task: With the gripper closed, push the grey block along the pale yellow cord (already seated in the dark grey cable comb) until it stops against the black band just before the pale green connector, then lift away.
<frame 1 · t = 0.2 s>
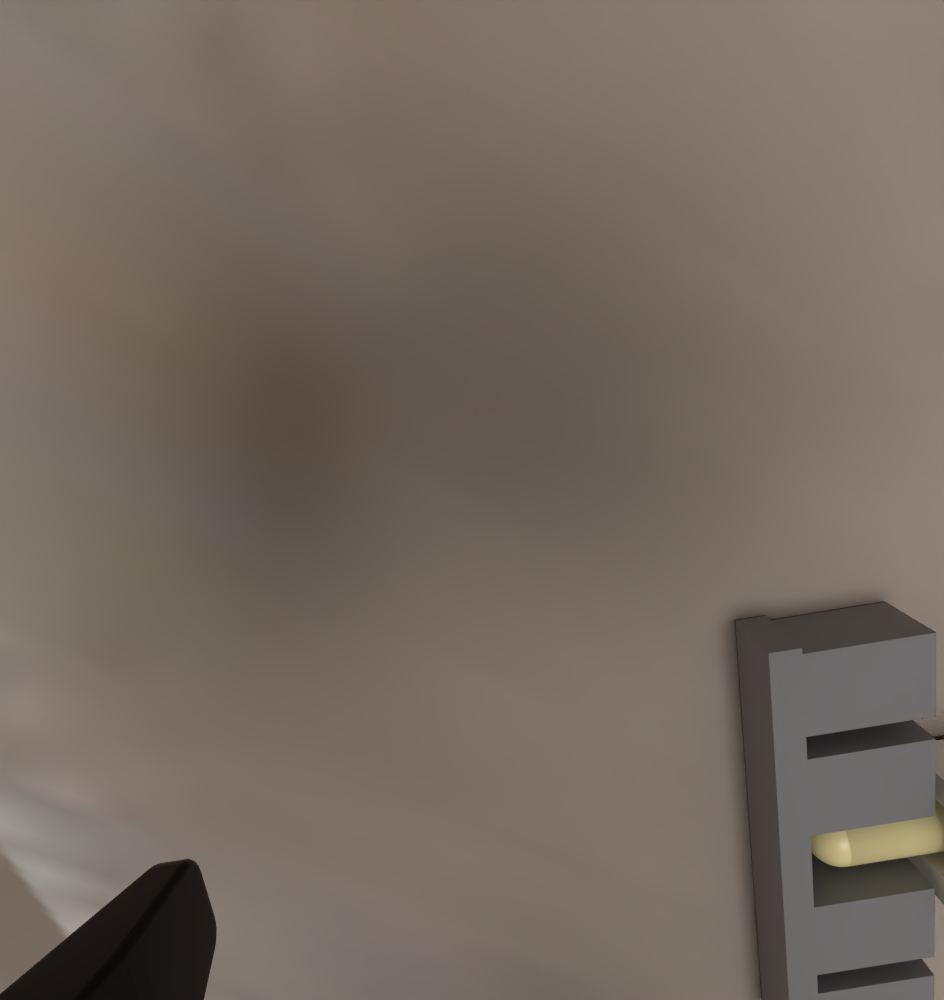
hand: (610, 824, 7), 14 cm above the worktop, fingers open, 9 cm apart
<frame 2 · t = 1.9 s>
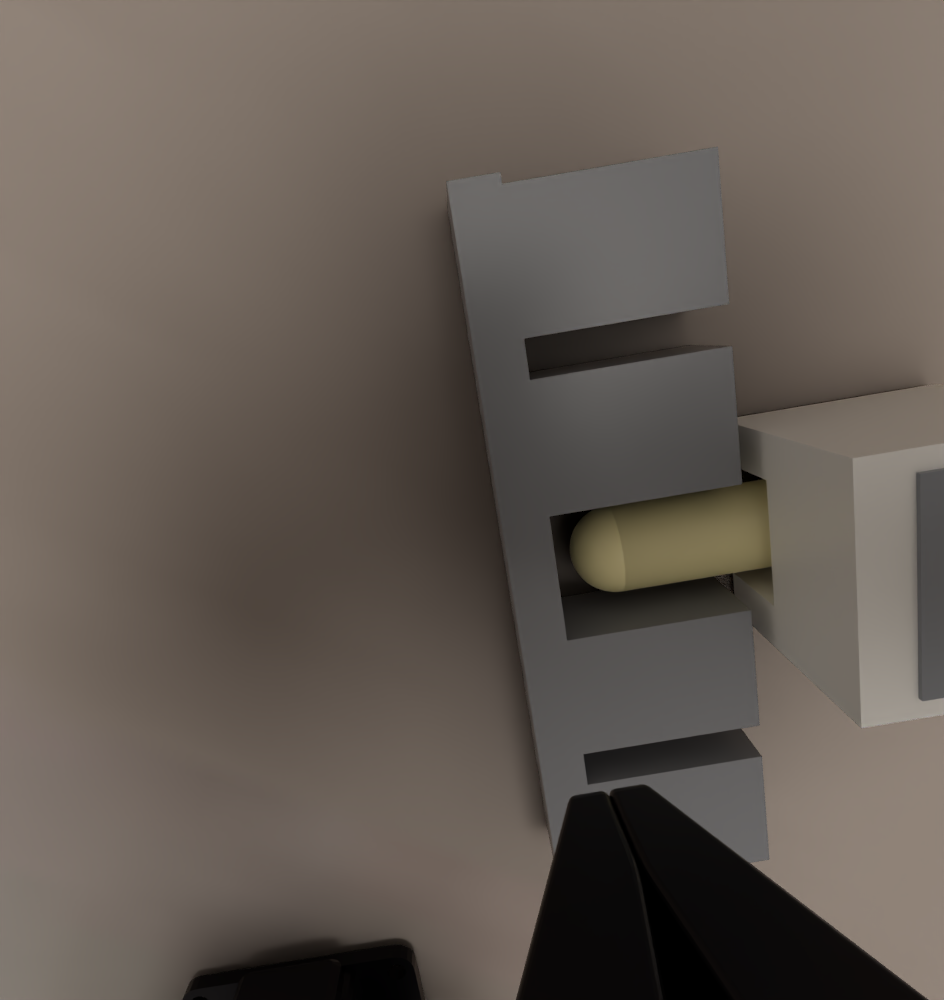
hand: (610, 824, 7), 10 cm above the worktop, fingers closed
grey block: (904, 531, 14), point 3 cm above the worktop, slide at 0.0 cm
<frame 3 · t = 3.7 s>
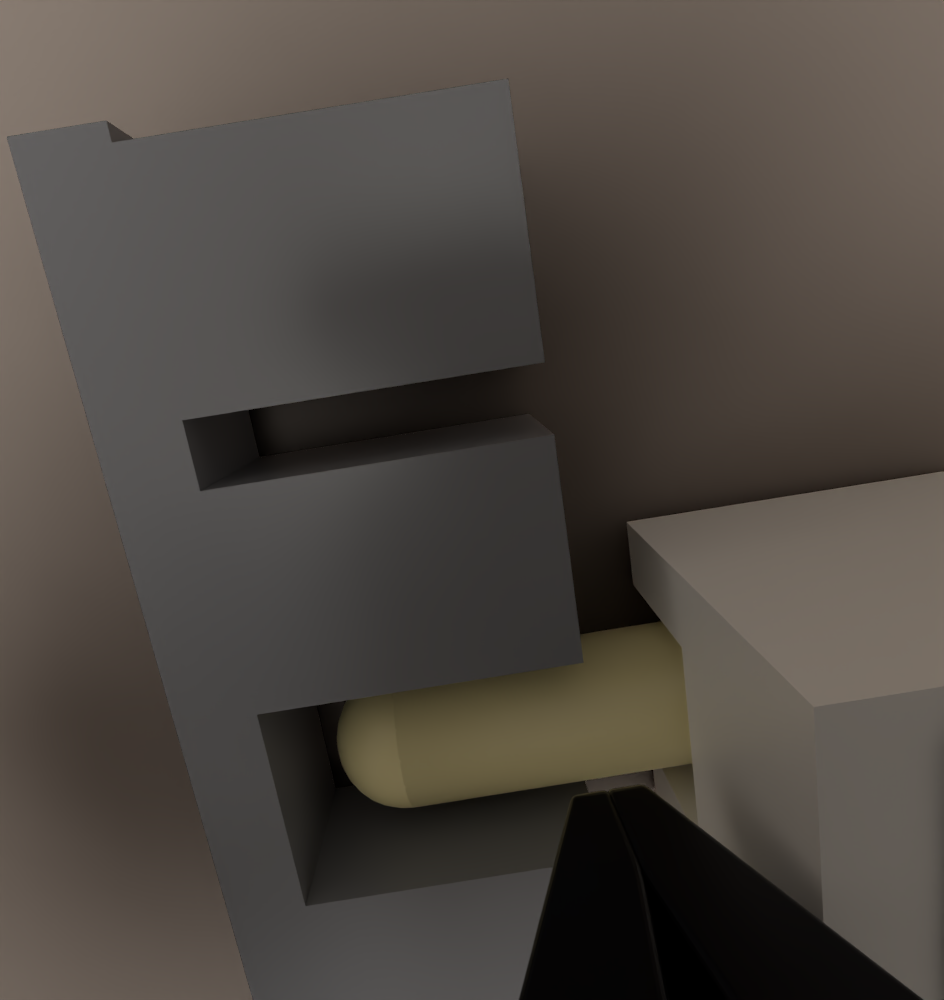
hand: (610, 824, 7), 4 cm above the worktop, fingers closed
grey block: (915, 740, 8), point 3 cm above the worktop, slide at 0.7 cm, touching gripper
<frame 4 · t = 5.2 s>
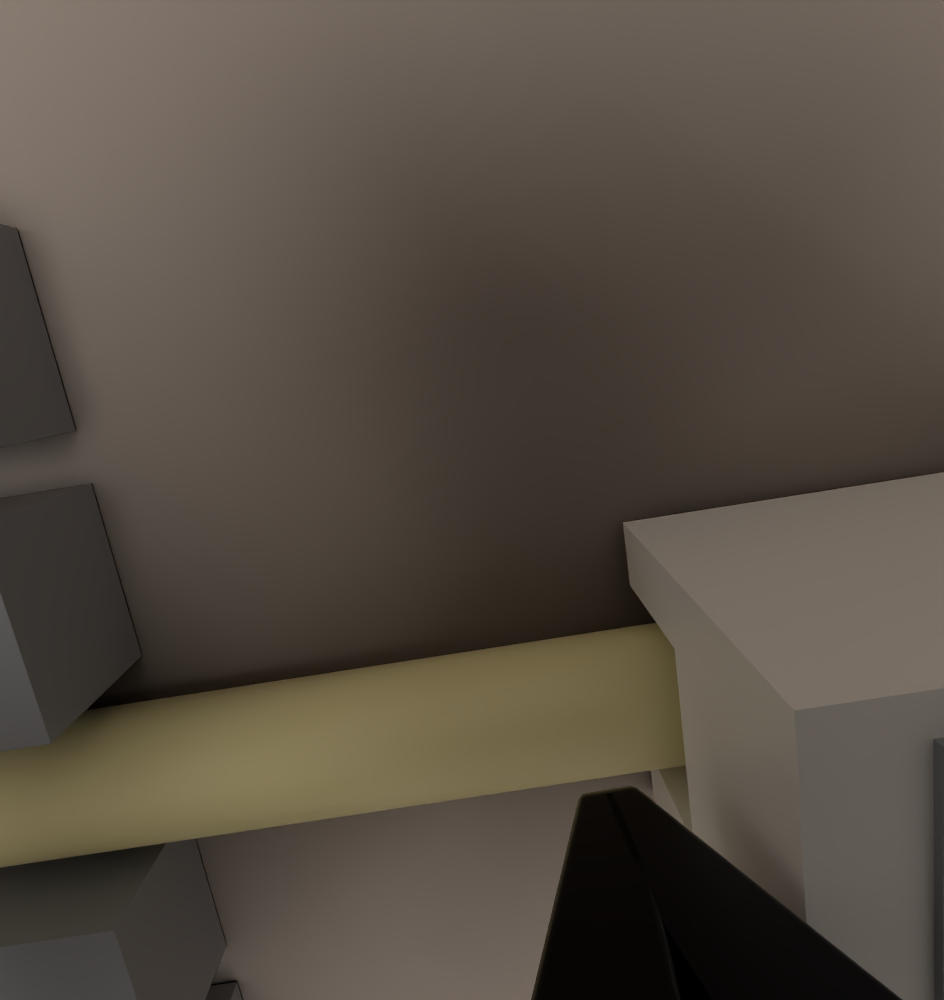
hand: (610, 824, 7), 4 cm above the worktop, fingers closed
cord rig: (561, 674, 11), on the worktop
grey block: (910, 744, 8), point 3 cm above the worktop, slide at 7.2 cm, touching cord rig, gripper
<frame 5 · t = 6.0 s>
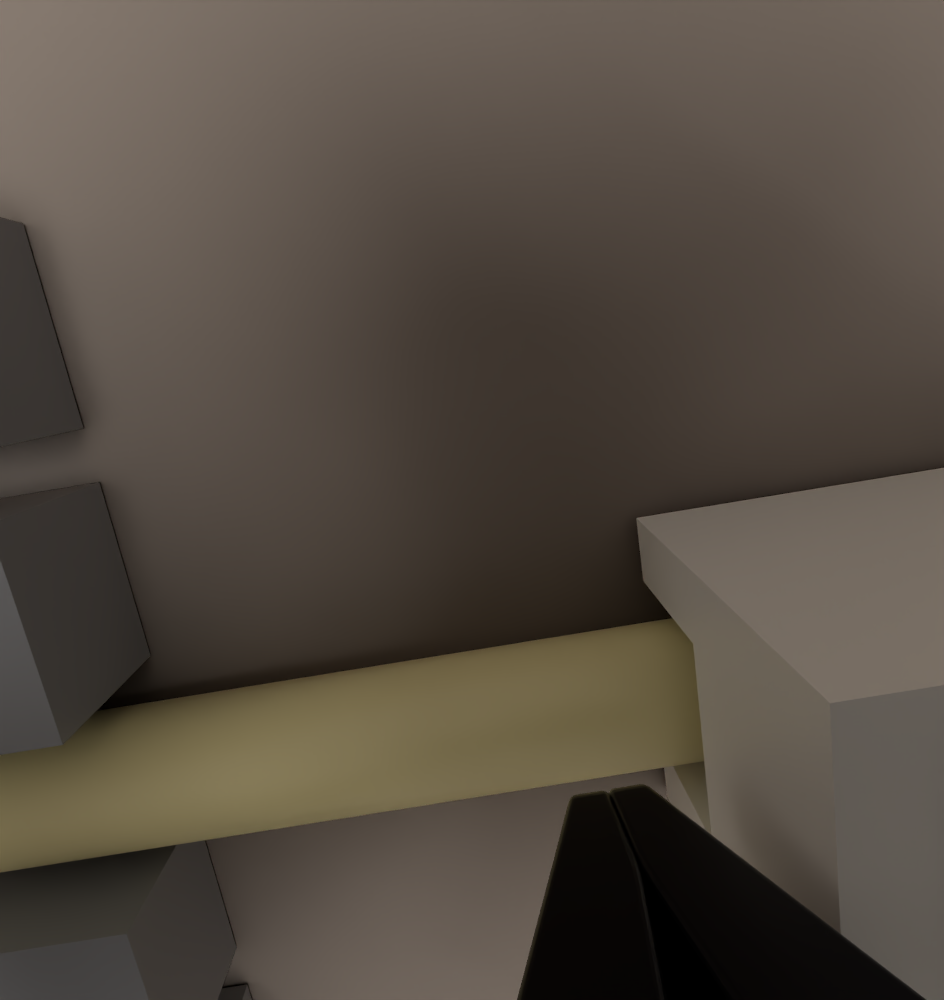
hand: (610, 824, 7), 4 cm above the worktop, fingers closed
cord rig: (574, 671, 11), on the worktop
grey block: (931, 737, 8), point 3 cm above the worktop, slide at 7.2 cm, touching cord rig
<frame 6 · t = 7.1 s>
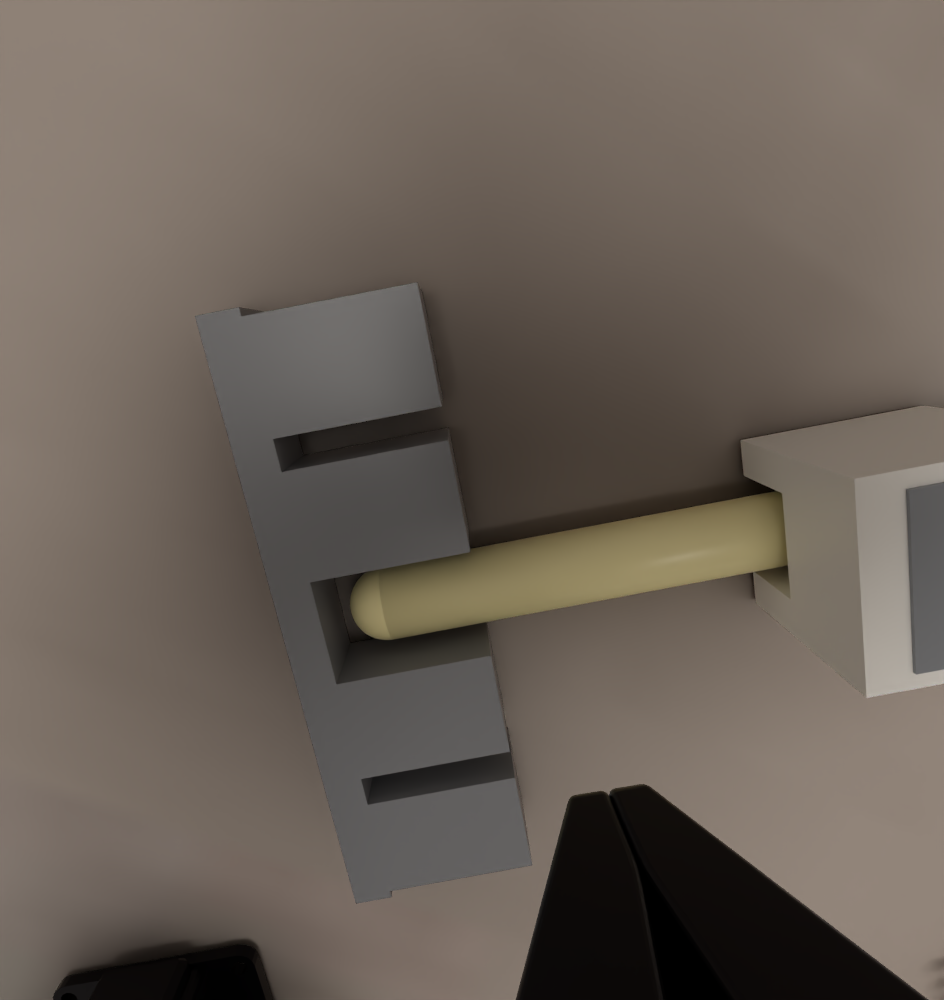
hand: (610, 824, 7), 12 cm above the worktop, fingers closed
cord rig: (703, 530, 19), on the worktop
grey block: (899, 534, 16), point 3 cm above the worktop, slide at 7.2 cm, touching cord rig
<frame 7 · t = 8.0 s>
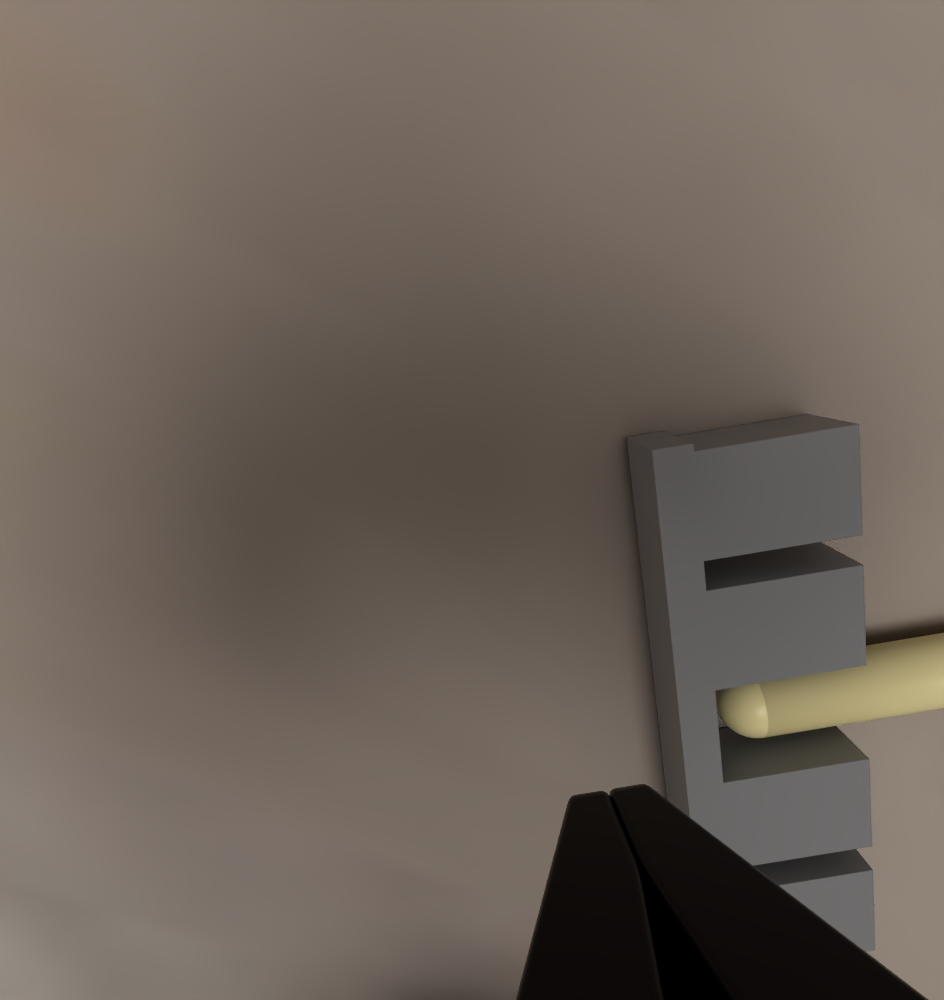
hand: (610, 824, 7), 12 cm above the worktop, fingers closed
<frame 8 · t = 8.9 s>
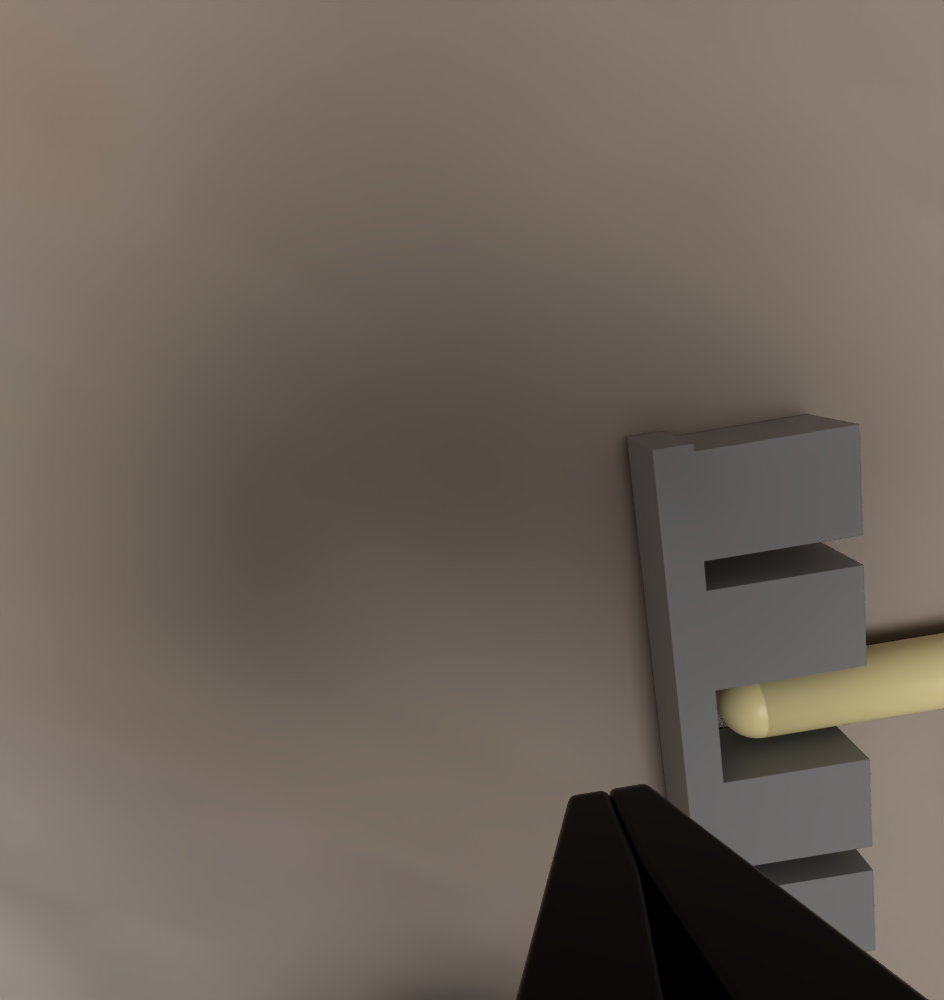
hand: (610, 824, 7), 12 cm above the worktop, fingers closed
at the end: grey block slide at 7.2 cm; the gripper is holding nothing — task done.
